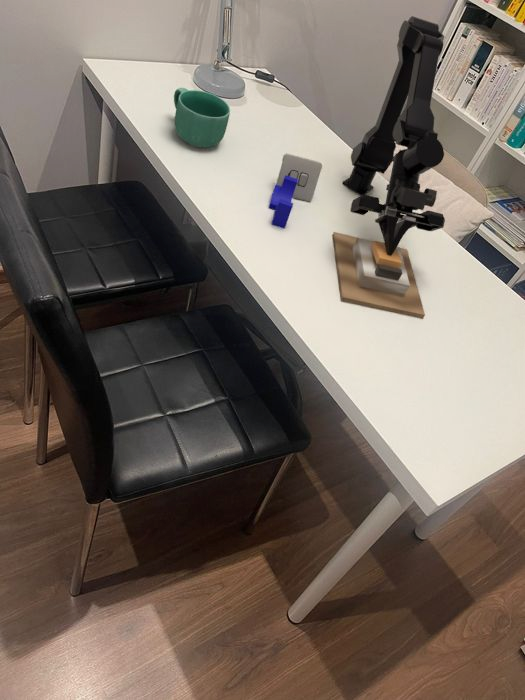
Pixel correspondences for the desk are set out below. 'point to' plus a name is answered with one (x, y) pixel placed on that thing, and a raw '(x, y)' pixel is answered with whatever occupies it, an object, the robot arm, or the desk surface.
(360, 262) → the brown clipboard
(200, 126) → the mug
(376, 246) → the orange wedge plank
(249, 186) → the desk surface
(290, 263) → the desk surface
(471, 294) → the desk surface
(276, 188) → the cable clip
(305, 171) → the electrical switch
